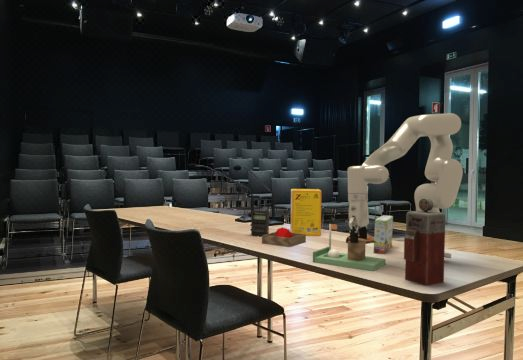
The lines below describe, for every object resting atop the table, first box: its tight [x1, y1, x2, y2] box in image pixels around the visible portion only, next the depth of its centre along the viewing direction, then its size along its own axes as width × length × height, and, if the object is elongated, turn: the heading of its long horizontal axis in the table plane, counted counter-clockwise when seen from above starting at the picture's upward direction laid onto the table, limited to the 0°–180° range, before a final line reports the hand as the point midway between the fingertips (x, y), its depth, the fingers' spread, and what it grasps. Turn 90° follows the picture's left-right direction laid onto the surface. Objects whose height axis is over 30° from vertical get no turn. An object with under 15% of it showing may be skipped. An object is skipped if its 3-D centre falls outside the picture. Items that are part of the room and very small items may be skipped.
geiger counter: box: [250, 207, 270, 238], centre depth 232 cm, size 10×4×15 cm, turn 72°
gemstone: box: [275, 226, 292, 238], centre depth 211 cm, size 9×9×10 cm
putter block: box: [347, 240, 366, 261], centre depth 168 cm, size 5×6×7 cm
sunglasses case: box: [345, 232, 374, 245], centre depth 217 cm, size 18×7×7 cm
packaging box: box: [289, 188, 322, 237], centre depth 242 cm, size 16×16×25 cm
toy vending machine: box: [403, 198, 446, 286], centre depth 143 cm, size 9×11×28 cm
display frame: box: [261, 231, 307, 248], centre depth 213 cm, size 16×16×4 cm
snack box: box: [373, 214, 394, 255], centre depth 198 cm, size 21×6×15 cm, turn 155°
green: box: [312, 223, 386, 272], centre depth 170 cm, size 25×14×14 cm, turn 56°
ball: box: [328, 248, 340, 258], centre depth 173 cm, size 5×5×5 cm
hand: (358, 240), depth 168 cm, fingers open, 9 cm apart
